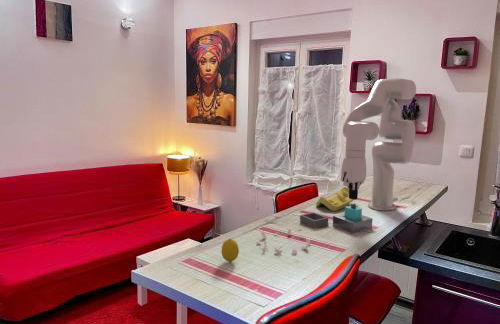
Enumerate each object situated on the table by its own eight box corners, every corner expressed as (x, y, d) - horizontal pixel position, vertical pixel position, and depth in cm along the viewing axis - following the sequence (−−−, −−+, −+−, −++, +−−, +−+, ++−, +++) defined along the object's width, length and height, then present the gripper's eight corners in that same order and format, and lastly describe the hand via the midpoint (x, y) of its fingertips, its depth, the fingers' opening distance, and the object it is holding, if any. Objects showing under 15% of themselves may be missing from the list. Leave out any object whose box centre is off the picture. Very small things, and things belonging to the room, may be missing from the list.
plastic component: (336, 207, 171) (319, 194, 176) (330, 219, 174) (314, 206, 180) (359, 196, 184) (343, 184, 190) (353, 207, 188) (338, 196, 193)
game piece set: (246, 242, 137) (246, 232, 136) (286, 231, 148) (287, 222, 148) (280, 261, 121) (280, 249, 120) (323, 246, 133) (323, 236, 132)
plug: (351, 223, 155) (351, 201, 154) (361, 227, 151) (362, 205, 149) (344, 225, 153) (344, 203, 152) (353, 229, 149) (354, 206, 147)
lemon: (225, 267, 116) (224, 243, 115) (219, 260, 121) (218, 237, 120) (241, 264, 118) (241, 240, 117) (235, 257, 123) (234, 234, 122)
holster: (313, 218, 162) (313, 212, 161) (328, 224, 154) (328, 217, 154) (300, 221, 158) (300, 215, 158) (314, 228, 150) (314, 221, 150)
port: (351, 220, 159) (351, 211, 159) (371, 227, 150) (372, 218, 150) (332, 225, 154) (333, 215, 153) (352, 233, 145) (353, 223, 144)
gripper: (360, 151, 154) (358, 194, 157) (334, 154, 146) (332, 199, 149) (375, 153, 148) (372, 198, 151) (348, 156, 140) (346, 203, 143)
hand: (353, 198), depth 150 cm, fingers closed
